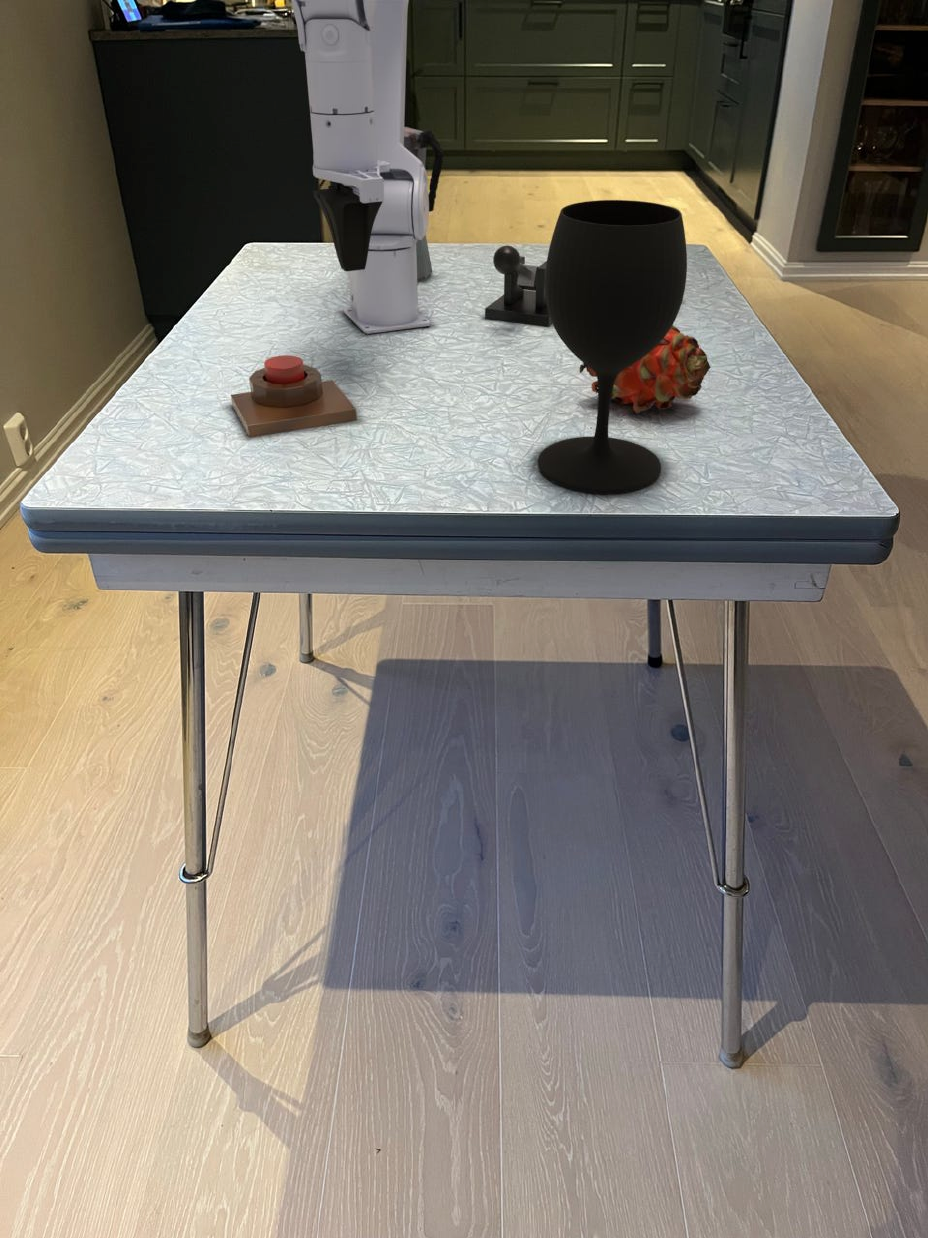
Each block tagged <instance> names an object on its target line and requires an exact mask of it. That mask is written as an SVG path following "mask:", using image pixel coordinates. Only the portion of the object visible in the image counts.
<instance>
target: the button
mask: <svg viewBox="0 0 928 1238" xmlns="http://www.w3.org/2000/svg"><path fill="white" fill-rule="evenodd" d="M303 365H304V360H303V358H301V357H299V356H297V355H289V354H288V355H276V356H272V357H269V358H267V359H266V360H265V361H264V362H263V368H265V375H266V381H267V382H269V383H272V384H291V383H297V382H300V381H302V380H304V379H305V375H304V366H303Z"/></svg>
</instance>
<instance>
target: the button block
mask: <svg viewBox="0 0 928 1238" xmlns="http://www.w3.org/2000/svg"><path fill="white" fill-rule="evenodd" d="M303 366H304V375H305V379H304V380H302V381H300V382H297V383H291V384H272V383H269V382H267V381H266V375H265V368H264V367H263V368H260V369H258V370H255V371H253V373H252V374H251V375H250V376H249V378H248V381H249V388H250V391H247V392H241V393H233V394H230V399H231V400H230V401H231V406H232V408H233V410H234V412H235V415H236V416H237V417H238V419H239V421H240V423H241V425H242V427H243V429H244V430H245V432H246V434H247V436H248V438H249V439H251V438H257V437H262V436H269V435H275V434H281V433H287V432H294V431H299V430H305V429H313V428H318V427H319V428H320V427H324V426H331V425H337V424H343V423H350V422H355V421H358V419H357V417H358V416H357V408H356V407H355V405H353V403H352V402H351V401H350V399H349V398H348V397H347V396H346V395H345V394H344V392H343V391H342V390H341V389H340V387H339V386H338V385H337V384H336V383H335V381H334V380H333V379H330V380H329V379H328V380H322V379H323V378H322V374H321V372H320V371H319V370H318V369H317V368H316V367H313V366H310V365H307V364H303Z"/></svg>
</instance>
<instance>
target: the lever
mask: <svg viewBox="0 0 928 1238" xmlns="http://www.w3.org/2000/svg"><path fill="white" fill-rule="evenodd" d="M520 256H521V255H520V252H519V250H518V249H517V248H515V247H514V246H512V245H508V244H507V245H501V246H500V247H499V248H497V249H496V251H495V252H494V255H493V259H492V262H493V266H494V269H495V270H496V271H497V272H498V273H500V274H502V275H504V274H505V275H508V274H512V273H514V274H516V275H517V276H518V279H517V285H518V286H519V287H521V288H522V289H523V290H528V291H536V277H537V268H538V267H539V266H538V265H534V264H526V263H525V264H522V263H520Z"/></svg>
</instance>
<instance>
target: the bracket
mask: <svg viewBox="0 0 928 1238" xmlns="http://www.w3.org/2000/svg"><path fill="white" fill-rule="evenodd" d="M525 262H526V257H525V256H522V255H520V263H522V264H525V265H526V263H525ZM546 263H547V260H546V261H544V262H543V263H541V265H539V266H538V268H537V277H536V291H531V290H523V289H522V288H521V287H519V286H518V285H517V279H518V276H517V275H516V274H514V273H512V274H508V275H505V274H503V275H504V277H503V284H504V285H503V294H502V295H501V296H499V297H498V298H497V299H495V300H494V301H493V302H491V303H490V304H489V305H488V306H487V307H485V308H484V318H485V319H488V320H495V321H503V322H511V323H519V324H528V325H536V326H543V327H549V326H550V325H552V321H551V318H550V315H549V312H548V308H547V303H546V296H545V272H546Z"/></svg>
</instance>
